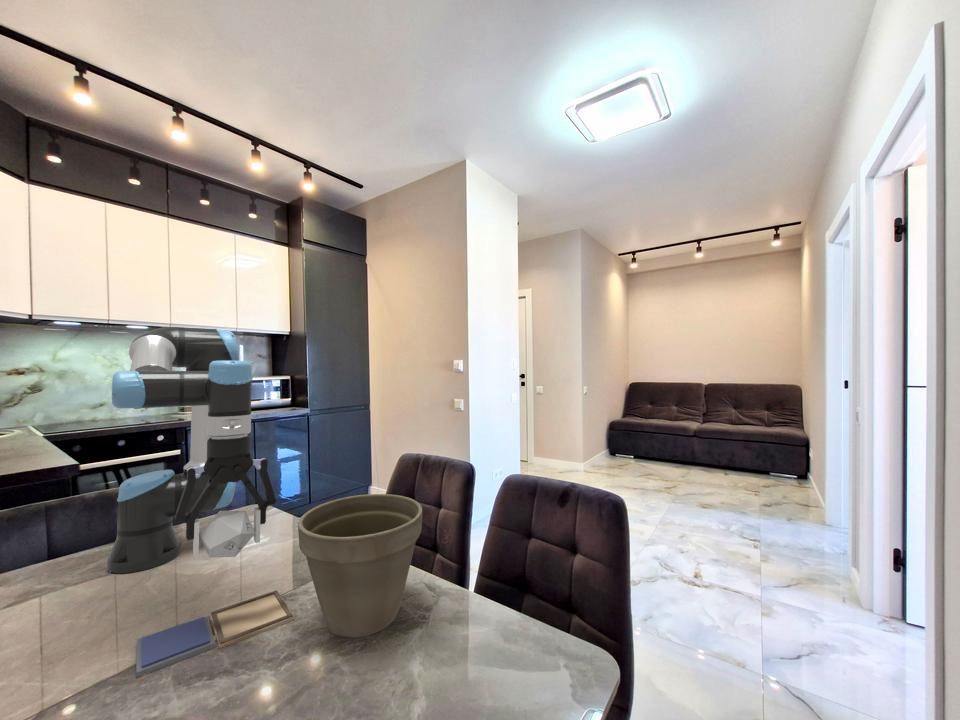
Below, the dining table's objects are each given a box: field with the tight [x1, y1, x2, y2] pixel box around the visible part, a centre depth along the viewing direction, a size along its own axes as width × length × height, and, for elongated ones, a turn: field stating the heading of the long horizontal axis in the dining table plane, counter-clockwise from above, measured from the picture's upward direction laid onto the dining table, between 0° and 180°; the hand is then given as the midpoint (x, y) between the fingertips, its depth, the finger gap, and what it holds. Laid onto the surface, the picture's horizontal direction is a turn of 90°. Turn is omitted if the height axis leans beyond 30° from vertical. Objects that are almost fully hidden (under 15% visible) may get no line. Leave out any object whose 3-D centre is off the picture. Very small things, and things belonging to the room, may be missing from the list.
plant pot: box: [297, 493, 423, 639], centre depth 82 cm, size 25×25×22 cm
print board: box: [209, 590, 295, 650], centre depth 81 cm, size 13×13×1 cm
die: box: [199, 510, 255, 558], centre depth 79 cm, size 8×9×10 cm
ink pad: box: [135, 615, 216, 678], centre depth 73 cm, size 11×11×1 cm
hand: (227, 547), depth 79 cm, fingers closed on die, 10 cm apart
